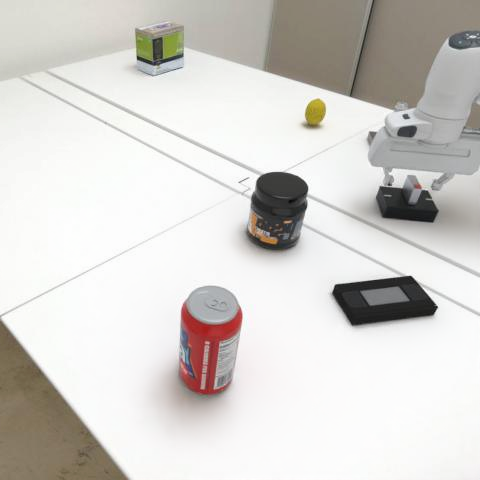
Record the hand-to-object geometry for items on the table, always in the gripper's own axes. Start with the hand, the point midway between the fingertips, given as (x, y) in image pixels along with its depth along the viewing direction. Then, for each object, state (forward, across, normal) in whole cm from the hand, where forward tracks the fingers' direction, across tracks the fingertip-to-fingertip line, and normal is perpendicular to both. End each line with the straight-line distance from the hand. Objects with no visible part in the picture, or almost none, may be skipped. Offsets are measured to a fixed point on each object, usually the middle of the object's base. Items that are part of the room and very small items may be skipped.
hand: (410, 186), depth 95 cm
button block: (+6, -3, -30) cm, 30 cm away
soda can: (+6, +37, +49) cm, 62 cm away
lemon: (+6, +16, -40) cm, 43 cm away
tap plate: (+6, 0, 0) cm, 6 cm away
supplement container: (+6, +28, +14) cm, 32 cm away
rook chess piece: (+6, -6, -40) cm, 41 cm away
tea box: (+6, +68, -80) cm, 106 cm away
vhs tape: (+6, +10, +30) cm, 32 cm away
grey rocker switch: (+3, 0, 0) cm, 3 cm away
